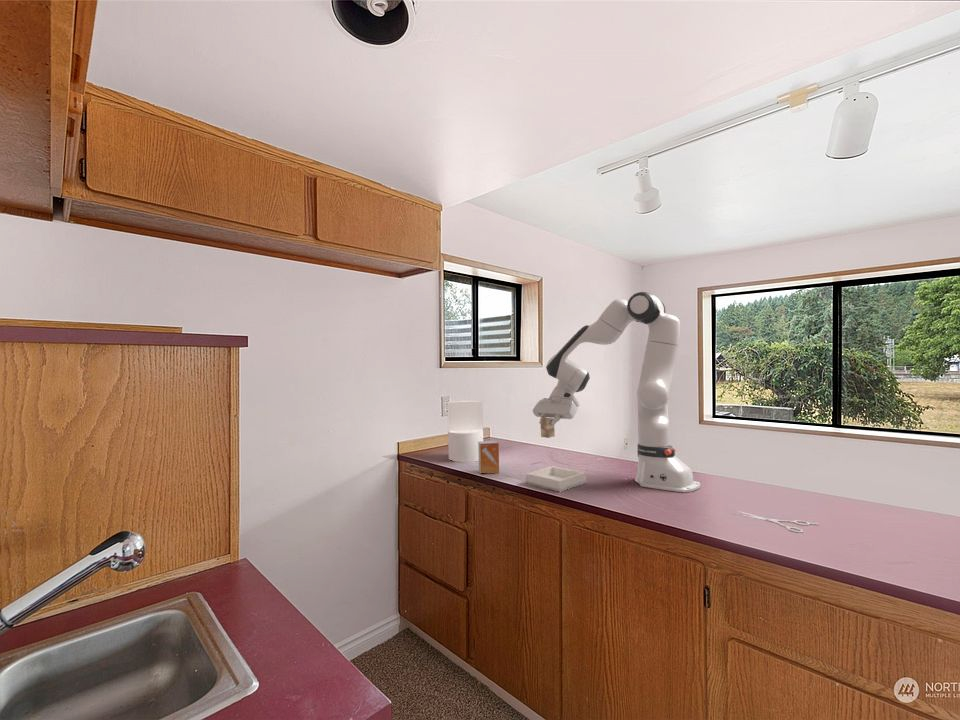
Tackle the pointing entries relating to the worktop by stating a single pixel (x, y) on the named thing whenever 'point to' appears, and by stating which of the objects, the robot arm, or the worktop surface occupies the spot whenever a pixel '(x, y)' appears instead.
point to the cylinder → (464, 429)
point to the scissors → (783, 521)
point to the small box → (488, 456)
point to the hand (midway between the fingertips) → (546, 424)
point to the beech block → (547, 428)
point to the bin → (555, 478)
